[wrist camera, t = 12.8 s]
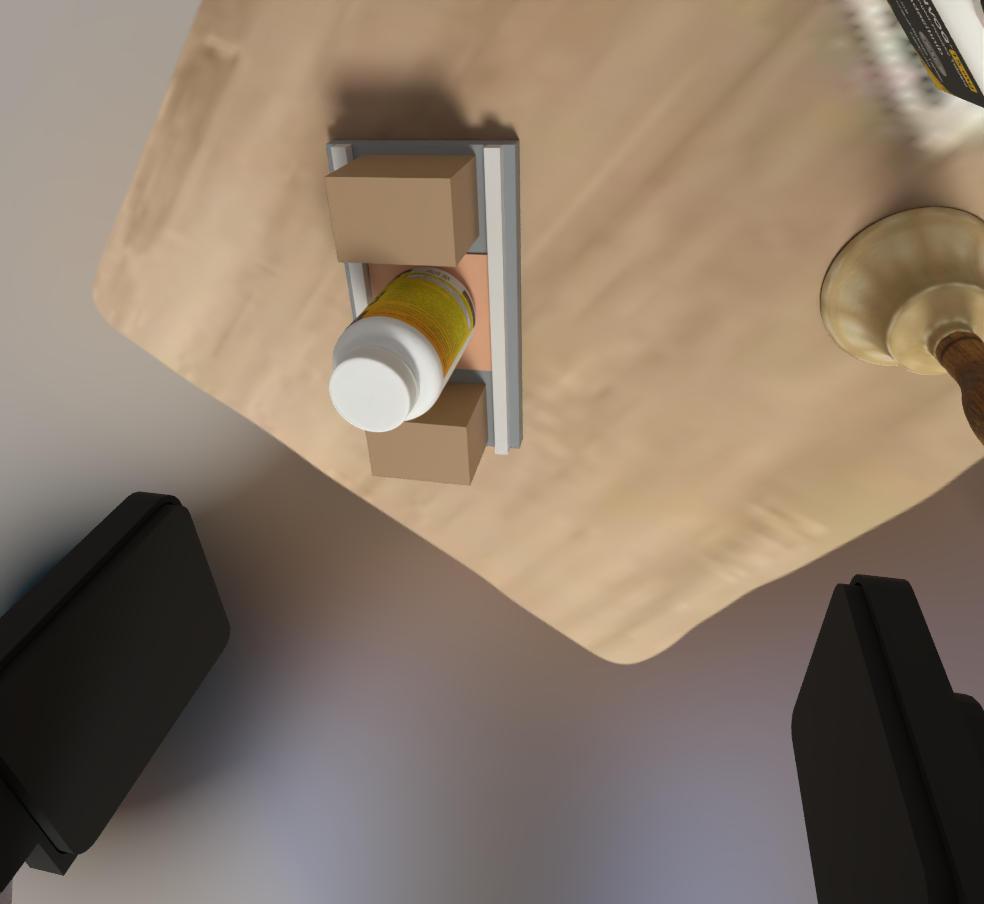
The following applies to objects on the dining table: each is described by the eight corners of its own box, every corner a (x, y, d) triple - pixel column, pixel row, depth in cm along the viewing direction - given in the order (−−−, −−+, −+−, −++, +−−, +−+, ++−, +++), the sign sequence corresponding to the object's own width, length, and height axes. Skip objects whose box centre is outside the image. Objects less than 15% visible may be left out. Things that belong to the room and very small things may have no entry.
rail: (334, 139, 37) (282, 164, 32) (519, 140, 35) (493, 167, 30) (377, 425, 47) (342, 479, 42) (522, 438, 45) (503, 495, 40)
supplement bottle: (399, 246, 38) (324, 320, 30) (492, 287, 38) (442, 372, 30) (375, 331, 41) (301, 418, 33) (460, 368, 42) (408, 465, 33)
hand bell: (962, 168, 32) (1160, 298, 19) (1033, 307, 34) (1251, 504, 21) (789, 273, 36) (855, 438, 23) (865, 390, 38) (962, 596, 26)
